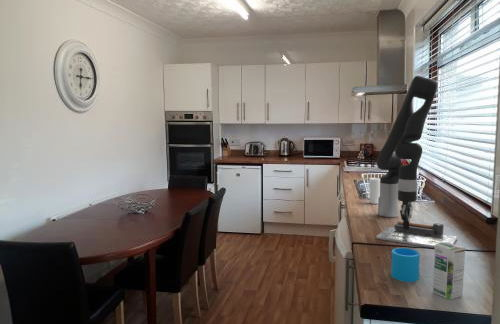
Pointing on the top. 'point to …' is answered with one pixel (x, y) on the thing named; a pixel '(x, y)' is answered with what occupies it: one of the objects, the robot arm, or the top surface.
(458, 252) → the syrup box
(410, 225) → the cable arm
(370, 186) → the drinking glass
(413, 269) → the mug
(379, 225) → the top surface
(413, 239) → the panel
